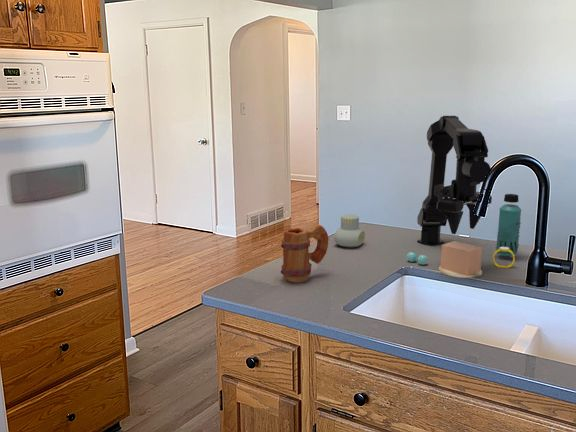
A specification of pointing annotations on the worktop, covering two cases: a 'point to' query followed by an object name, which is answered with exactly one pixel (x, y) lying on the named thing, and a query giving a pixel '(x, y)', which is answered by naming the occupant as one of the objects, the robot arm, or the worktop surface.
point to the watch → (503, 250)
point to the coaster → (458, 275)
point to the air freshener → (349, 232)
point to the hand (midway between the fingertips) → (462, 231)
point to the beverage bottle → (509, 226)
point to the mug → (302, 252)
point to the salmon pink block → (461, 258)
